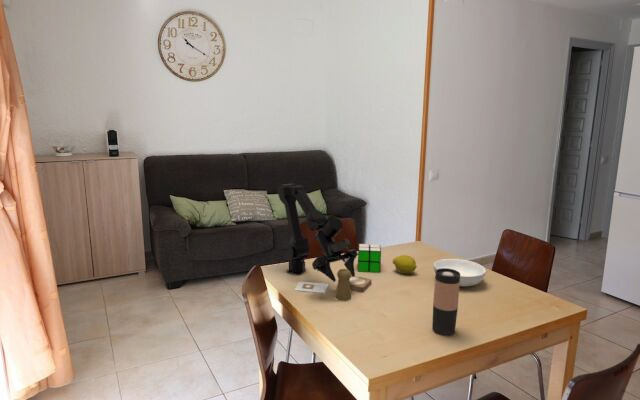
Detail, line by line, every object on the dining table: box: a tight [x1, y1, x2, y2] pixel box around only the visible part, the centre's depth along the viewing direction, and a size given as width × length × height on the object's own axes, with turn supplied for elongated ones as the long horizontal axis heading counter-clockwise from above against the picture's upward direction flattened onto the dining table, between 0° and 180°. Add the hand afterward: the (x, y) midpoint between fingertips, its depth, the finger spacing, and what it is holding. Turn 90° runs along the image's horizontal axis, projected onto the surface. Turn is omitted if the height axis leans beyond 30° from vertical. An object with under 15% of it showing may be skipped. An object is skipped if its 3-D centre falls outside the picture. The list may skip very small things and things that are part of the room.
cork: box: [335, 268, 352, 302], centre depth 167 cm, size 6×6×11 cm
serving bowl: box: [433, 258, 487, 287], centre depth 185 cm, size 21×21×7 cm
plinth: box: [350, 275, 372, 293], centre depth 180 cm, size 10×10×2 cm
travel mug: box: [431, 268, 460, 337], centre depth 142 cm, size 8×8×20 cm
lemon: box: [392, 254, 418, 275], centre depth 194 cm, size 11×8×8 cm
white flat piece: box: [294, 281, 329, 294], centre depth 177 cm, size 12×9×1 cm
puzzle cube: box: [357, 243, 382, 274], centre depth 199 cm, size 10×10×10 cm
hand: (344, 278), depth 166 cm, fingers open, 9 cm apart
